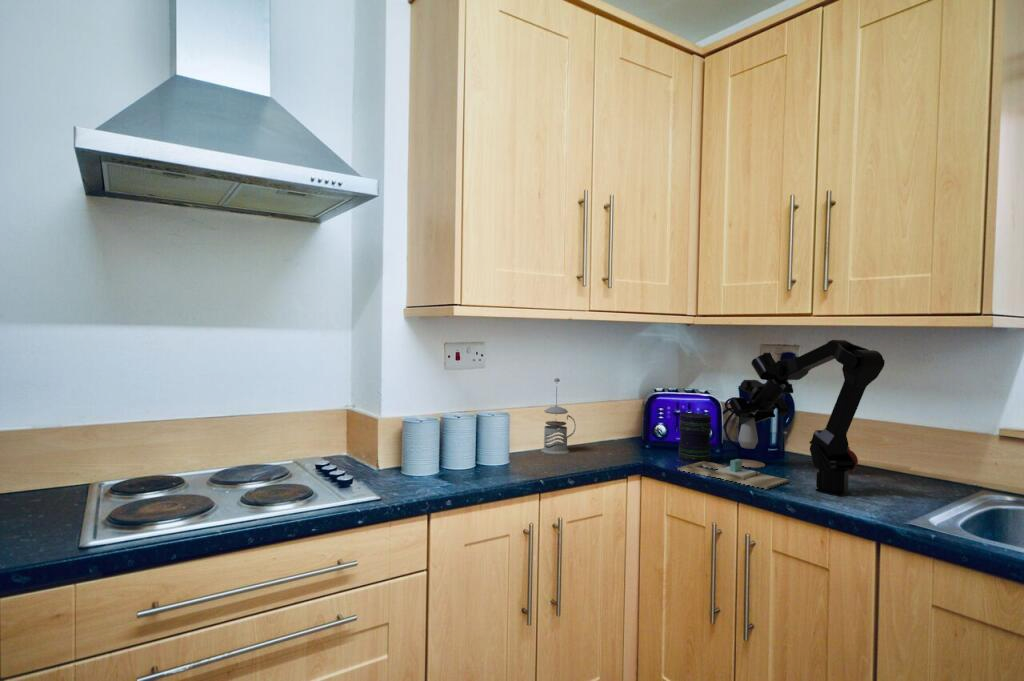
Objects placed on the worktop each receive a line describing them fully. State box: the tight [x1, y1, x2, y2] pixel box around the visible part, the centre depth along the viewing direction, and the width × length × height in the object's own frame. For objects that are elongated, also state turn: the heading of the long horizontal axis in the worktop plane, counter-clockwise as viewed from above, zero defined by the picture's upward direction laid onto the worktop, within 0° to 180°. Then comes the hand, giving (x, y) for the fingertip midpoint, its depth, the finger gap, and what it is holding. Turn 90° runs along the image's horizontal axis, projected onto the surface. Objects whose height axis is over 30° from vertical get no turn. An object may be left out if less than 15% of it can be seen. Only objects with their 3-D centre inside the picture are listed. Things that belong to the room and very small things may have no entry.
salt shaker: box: [737, 411, 759, 450], centre depth 184 cm, size 6×6×13 cm
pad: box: [741, 459, 766, 469], centre depth 184 cm, size 10×10×1 cm
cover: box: [715, 458, 757, 478], centre depth 166 cm, size 8×8×4 cm
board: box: [677, 461, 789, 490], centre depth 168 cm, size 27×13×2 cm, turn 42°
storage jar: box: [678, 412, 712, 464], centre depth 187 cm, size 10×10×15 cm
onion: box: [847, 446, 859, 473], centre depth 175 cm, size 6×6×8 cm
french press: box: [540, 377, 576, 455], centre depth 198 cm, size 10×12×25 cm
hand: (746, 422), depth 185 cm, fingers closed on salt shaker, 4 cm apart
